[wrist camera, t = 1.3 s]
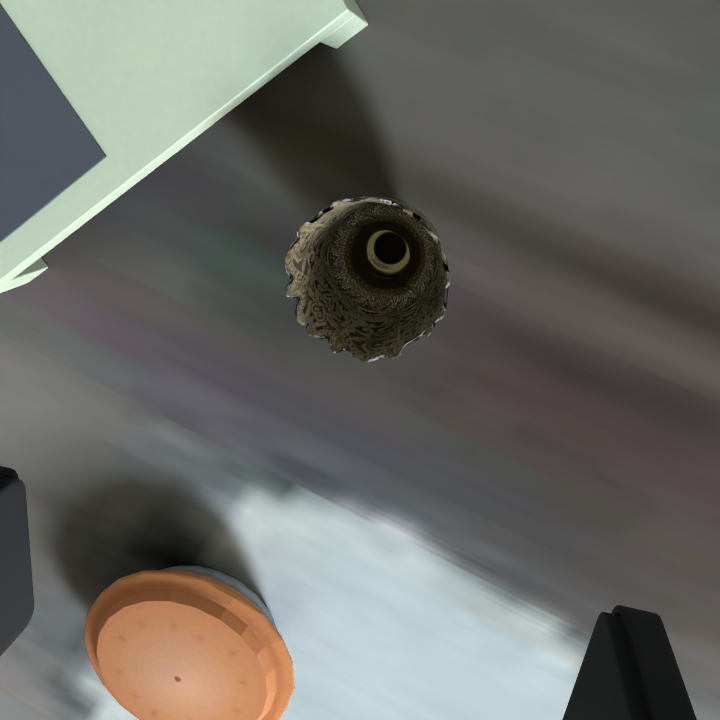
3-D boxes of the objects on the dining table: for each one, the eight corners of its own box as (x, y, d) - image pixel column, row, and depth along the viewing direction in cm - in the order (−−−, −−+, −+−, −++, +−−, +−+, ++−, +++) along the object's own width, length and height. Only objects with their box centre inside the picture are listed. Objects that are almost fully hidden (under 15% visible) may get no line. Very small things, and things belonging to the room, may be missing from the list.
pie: (127, 689, 53) (92, 744, 48) (96, 529, 47) (53, 574, 43) (311, 717, 50) (293, 778, 45) (300, 550, 44) (279, 601, 40)
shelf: (229, -219, 30) (179, -282, 25) (368, 24, 32) (347, 9, 27) (-102, 112, 38) (-186, 112, 34) (28, 283, 41) (-33, 305, 36)
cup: (371, 335, 38) (342, 389, 31) (299, 228, 36) (251, 257, 29) (483, 269, 35) (481, 311, 28) (411, 151, 34) (389, 162, 26)
